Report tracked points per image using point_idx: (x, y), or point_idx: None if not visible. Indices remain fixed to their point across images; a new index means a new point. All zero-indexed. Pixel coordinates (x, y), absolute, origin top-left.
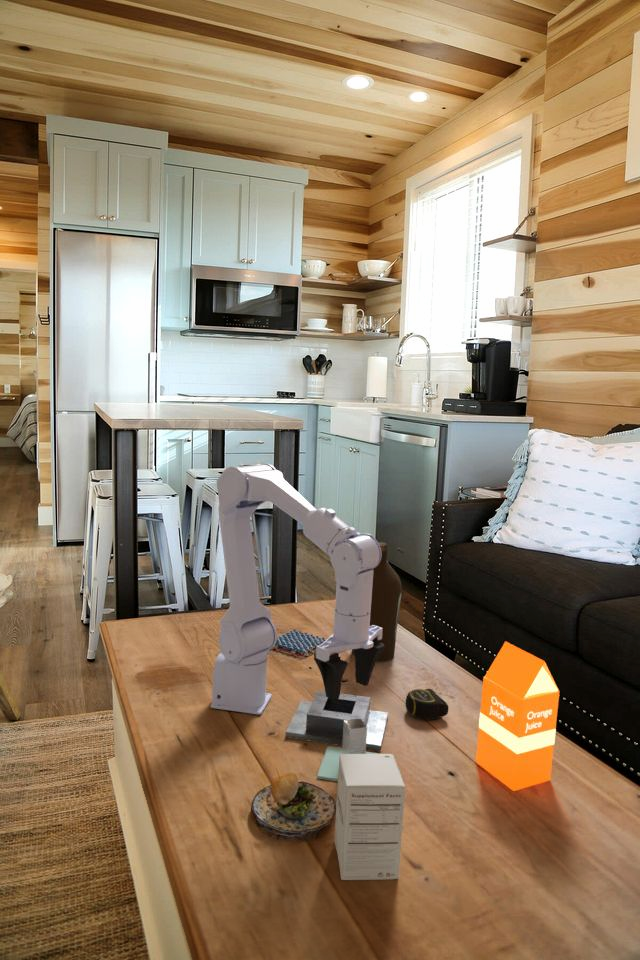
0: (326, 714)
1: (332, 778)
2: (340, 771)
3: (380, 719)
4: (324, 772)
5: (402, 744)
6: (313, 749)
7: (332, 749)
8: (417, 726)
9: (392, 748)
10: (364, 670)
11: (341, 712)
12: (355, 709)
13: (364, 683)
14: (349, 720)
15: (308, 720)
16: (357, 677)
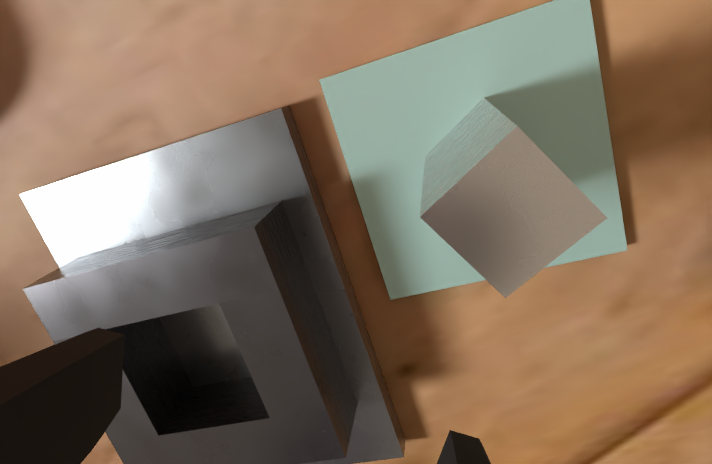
0: (294, 392)
1: (617, 189)
2: None
3: (90, 198)
4: (589, 235)
5: (176, 42)
6: (426, 335)
7: (403, 275)
8: (3, 47)
9: (234, 68)
10: (21, 444)
11: (164, 347)
12: (169, 304)
13: (112, 356)
14: (484, 267)
15: (348, 430)
16: (93, 432)
